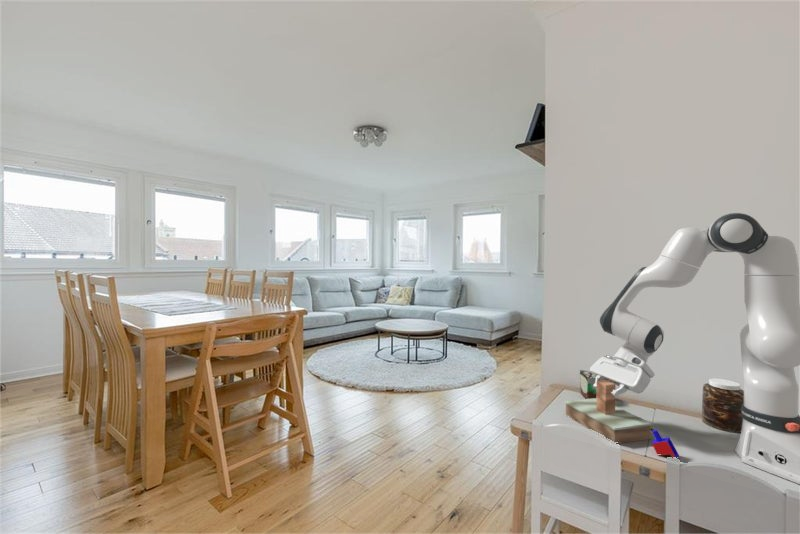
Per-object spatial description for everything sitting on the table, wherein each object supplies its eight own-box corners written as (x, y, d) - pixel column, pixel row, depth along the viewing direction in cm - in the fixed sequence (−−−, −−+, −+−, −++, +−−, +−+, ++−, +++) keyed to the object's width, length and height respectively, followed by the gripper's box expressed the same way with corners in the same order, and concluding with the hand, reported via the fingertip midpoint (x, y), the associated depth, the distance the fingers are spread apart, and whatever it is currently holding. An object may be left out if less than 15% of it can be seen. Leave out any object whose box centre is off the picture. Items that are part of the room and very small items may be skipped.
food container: (604, 404, 146) (605, 379, 146) (587, 403, 147) (588, 378, 147) (594, 393, 158) (595, 370, 158) (579, 392, 159) (579, 369, 159)
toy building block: (663, 457, 109) (649, 429, 112) (679, 455, 107) (664, 427, 109) (661, 462, 107) (646, 433, 109) (677, 460, 104) (661, 431, 107)
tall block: (615, 413, 125) (615, 384, 125) (605, 414, 124) (605, 385, 124) (605, 408, 129) (606, 380, 129) (596, 409, 128) (596, 381, 128)
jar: (753, 428, 125) (754, 384, 125) (736, 435, 120) (737, 389, 120) (711, 415, 136) (712, 375, 136) (694, 421, 131) (695, 379, 131)
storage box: (652, 439, 117) (652, 423, 117) (614, 444, 114) (614, 428, 114) (597, 411, 139) (597, 398, 139) (564, 414, 136) (564, 401, 136)
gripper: (599, 348, 138) (577, 376, 136) (648, 363, 118) (623, 396, 116) (609, 359, 139) (587, 387, 137) (659, 376, 119) (634, 409, 117)
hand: (604, 391), depth 126 cm, fingers open, 6 cm apart
